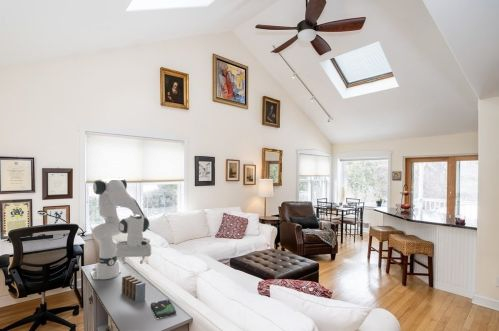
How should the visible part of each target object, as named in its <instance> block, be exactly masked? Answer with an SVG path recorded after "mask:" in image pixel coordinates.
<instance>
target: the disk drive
mask: <svg viewBox="0 0 499 331" xmlns="http://www.w3.org/2000/svg"><path fill="white" fill-rule="evenodd" d="M150 309H151V311H152V310H153V311H152V312H154V313H153V314H155V315H154V317H155V316H156V317H155V319H156V318H159V319H161V318H160V317H163V318H167V317H170V316H173V315H176V314H177V310H176V308H175V306H174V304H172V302H171V301H170V299H165V300H164V299H163V300H159V301H157V302H151V303H150ZM166 316H167V317H166Z"/></svg>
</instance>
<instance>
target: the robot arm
mask: <svg viewBox="0 0 499 331" xmlns="http://www.w3.org/2000/svg"><path fill="white" fill-rule="evenodd" d="M127 187H128V183H127V180H126V179H124V178H120V177H119V178H116V177H115V178H114V177H113V178H104V179H97V180H95V181H94V182H93V185H92V190H93V192H94V194H96V195H98V209H99V216H100V217H102V219H104V223H100V224H98V225H96V226H94V227H93V229H92V232H91V234H92V237H93V238H94V239H95V240H97V243H98V245H99V257H98V260H97V262H96V264H95V265H94V266H93V268H92V271H90V273H91V274H90V276H91V278H92V279H93V280H108V279H113V278H115V277H118V276H119V274H121V273H122V271H121V270H120V262H119V261H118V258H121V260H122V262H123V265H127V261H128V260H127V259H125V258H132V257H133V258H134V257H135V258H137V257H139V258H141V257H142V258H141V259H140V260H139V264H140V265H142V264H143V263H144V260H145V258H146V257H147V258H148V257H151V256H152V245H151V239H149V238H146V237H143V236H144V235H143V233H145V232H146V231H147V230H148V229H149V227H150V220H149V219H148V218H147V216H146V215H145V214H144V212H143V210H142V208H141V207H140V205H139V204H138V201H137V200H136V199H135V198H133V197H132V196H131V195H130V193H128V191H127ZM117 206H118V207H123V208H126V209H129V210H130V211H131V212H132V214H130V215H129V217H126V218H122V219H121V220H120V218H119V215H118V213H117ZM121 233H122V234H126V235H127V238H126V240H125V241H124V240H123V241H122V240H119V241H117V242H116V243H115V242H114V240H113V237H115V236H118V235H120V234H121Z"/></svg>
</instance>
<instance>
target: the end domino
mask: <svg viewBox="0 0 499 331" xmlns="http://www.w3.org/2000/svg"><path fill="white" fill-rule="evenodd" d="M143 301H146V282H145V281H142V283H139V284H136V294H135V300H134V302H135V303H140V302H143Z"/></svg>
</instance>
